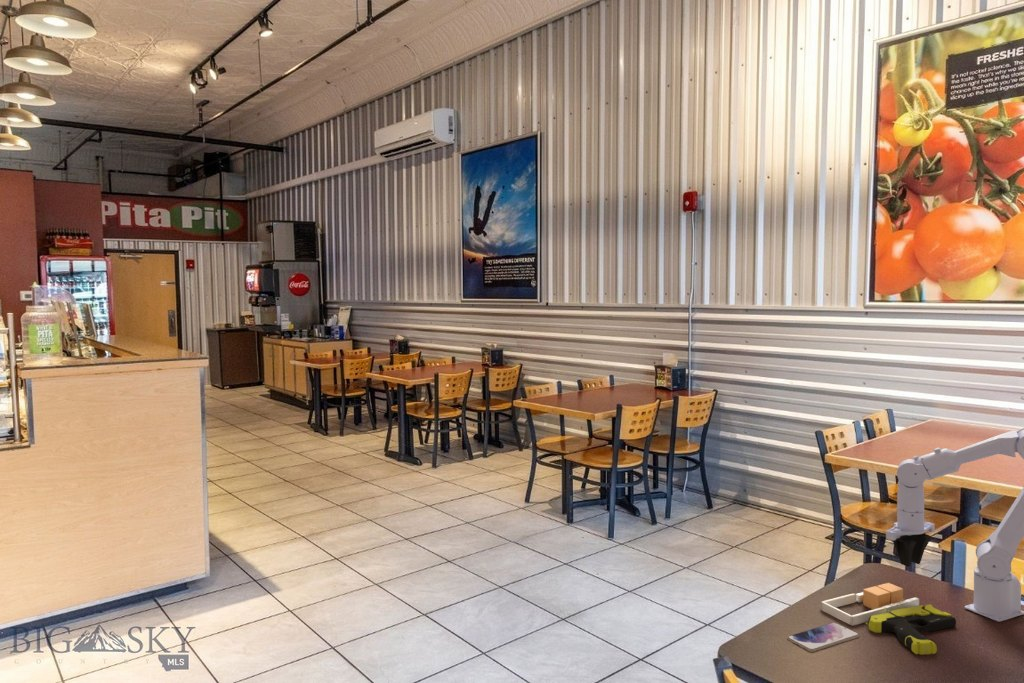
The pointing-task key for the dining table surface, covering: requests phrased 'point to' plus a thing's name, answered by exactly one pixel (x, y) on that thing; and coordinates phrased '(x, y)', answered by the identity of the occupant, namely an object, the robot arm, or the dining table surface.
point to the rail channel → (895, 606)
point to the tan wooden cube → (875, 597)
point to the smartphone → (822, 637)
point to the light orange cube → (893, 592)
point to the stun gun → (913, 626)
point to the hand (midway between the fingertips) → (910, 563)
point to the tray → (831, 609)
